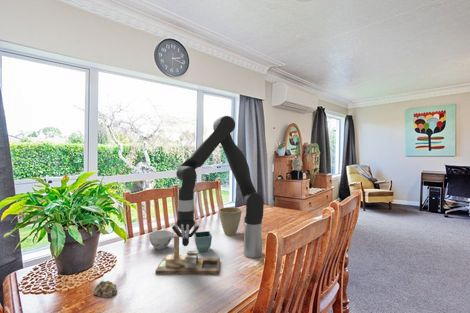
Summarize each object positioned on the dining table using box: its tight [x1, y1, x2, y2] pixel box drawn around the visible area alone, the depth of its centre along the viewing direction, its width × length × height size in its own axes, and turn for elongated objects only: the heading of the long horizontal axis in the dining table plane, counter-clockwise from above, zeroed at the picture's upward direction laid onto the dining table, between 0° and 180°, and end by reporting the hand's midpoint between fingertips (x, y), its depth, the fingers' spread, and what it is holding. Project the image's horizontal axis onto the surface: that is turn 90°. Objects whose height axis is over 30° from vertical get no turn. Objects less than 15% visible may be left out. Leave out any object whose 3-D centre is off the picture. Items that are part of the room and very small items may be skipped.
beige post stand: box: [165, 234, 187, 266], centre depth 119 cm, size 9×5×13 cm, turn 91°
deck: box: [154, 250, 221, 275], centre depth 119 cm, size 28×13×6 cm, turn 91°
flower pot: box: [193, 230, 213, 253], centre depth 139 cm, size 9×9×9 cm
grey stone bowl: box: [148, 229, 175, 251], centre depth 143 cm, size 15×12×8 cm
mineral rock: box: [93, 280, 118, 298], centre depth 99 cm, size 11×4×8 cm
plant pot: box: [218, 206, 243, 237], centre depth 166 cm, size 15×15×16 cm
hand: (185, 245), depth 119 cm, fingers closed
